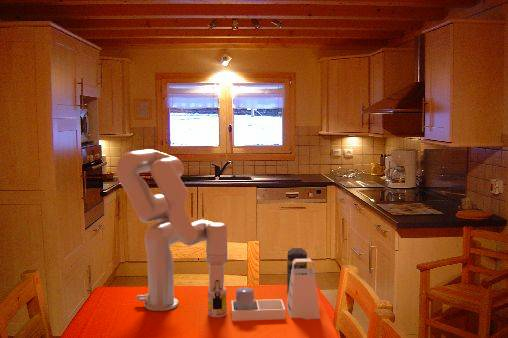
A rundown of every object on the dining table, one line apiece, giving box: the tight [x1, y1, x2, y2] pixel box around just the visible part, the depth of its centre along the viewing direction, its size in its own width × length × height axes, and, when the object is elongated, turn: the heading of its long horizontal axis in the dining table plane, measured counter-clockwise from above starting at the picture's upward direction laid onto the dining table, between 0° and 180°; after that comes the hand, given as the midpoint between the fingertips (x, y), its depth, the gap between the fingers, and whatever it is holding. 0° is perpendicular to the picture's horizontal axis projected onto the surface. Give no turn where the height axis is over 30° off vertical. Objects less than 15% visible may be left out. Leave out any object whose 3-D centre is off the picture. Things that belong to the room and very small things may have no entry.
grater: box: [285, 258, 321, 320], centre depth 190 cm, size 10×10×20 cm
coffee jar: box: [286, 247, 308, 294], centre depth 208 cm, size 10×8×19 cm
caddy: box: [230, 298, 286, 322], centre depth 188 cm, size 19×10×4 cm, turn 95°
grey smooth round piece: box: [235, 286, 255, 310], centre depth 187 cm, size 6×6×9 cm
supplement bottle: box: [207, 280, 228, 318], centre depth 188 cm, size 7×7×13 cm
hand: (217, 303), depth 189 cm, fingers open, 8 cm apart
